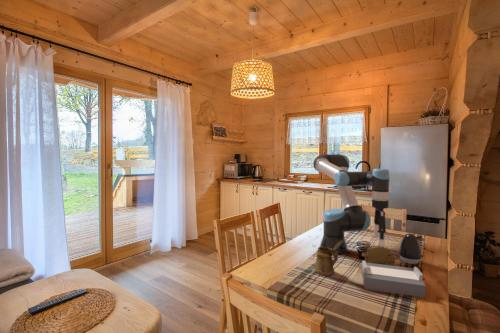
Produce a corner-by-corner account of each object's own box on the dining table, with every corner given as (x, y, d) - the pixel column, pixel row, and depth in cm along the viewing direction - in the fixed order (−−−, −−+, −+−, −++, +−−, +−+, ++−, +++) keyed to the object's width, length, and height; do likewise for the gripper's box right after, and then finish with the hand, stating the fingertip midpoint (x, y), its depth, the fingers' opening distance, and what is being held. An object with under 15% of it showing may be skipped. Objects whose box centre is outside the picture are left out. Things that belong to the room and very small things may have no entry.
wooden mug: (337, 281, 116) (337, 241, 115) (310, 271, 126) (311, 234, 125) (346, 274, 123) (347, 237, 122) (320, 265, 132) (320, 230, 131)
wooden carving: (393, 263, 135) (393, 244, 135) (397, 267, 131) (397, 247, 130) (360, 261, 137) (360, 243, 136) (363, 265, 132) (363, 246, 132)
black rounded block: (425, 267, 130) (426, 237, 129) (402, 265, 132) (403, 236, 132) (416, 259, 140) (417, 231, 139) (395, 257, 142) (396, 230, 141)
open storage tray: (364, 288, 110) (365, 271, 110) (361, 272, 125) (361, 257, 125) (425, 298, 103) (425, 279, 103) (413, 279, 118) (414, 263, 118)
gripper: (393, 204, 119) (392, 250, 120) (384, 196, 142) (383, 234, 144) (375, 203, 121) (374, 248, 122) (369, 195, 145) (368, 233, 146)
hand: (379, 241), depth 133 cm, fingers open, 13 cm apart
